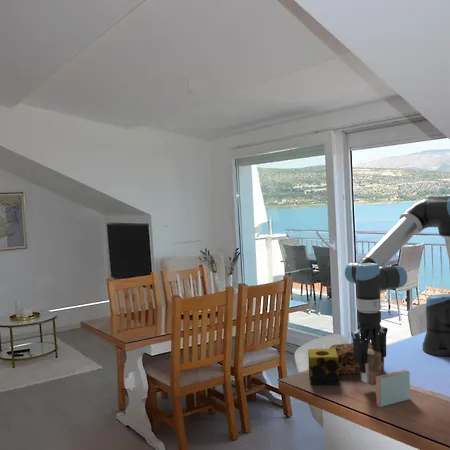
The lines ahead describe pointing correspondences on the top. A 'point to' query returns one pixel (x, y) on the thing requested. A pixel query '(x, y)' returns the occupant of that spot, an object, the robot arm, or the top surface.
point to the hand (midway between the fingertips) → (370, 380)
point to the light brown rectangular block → (373, 366)
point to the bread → (349, 359)
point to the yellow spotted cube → (323, 367)
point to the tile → (393, 388)
